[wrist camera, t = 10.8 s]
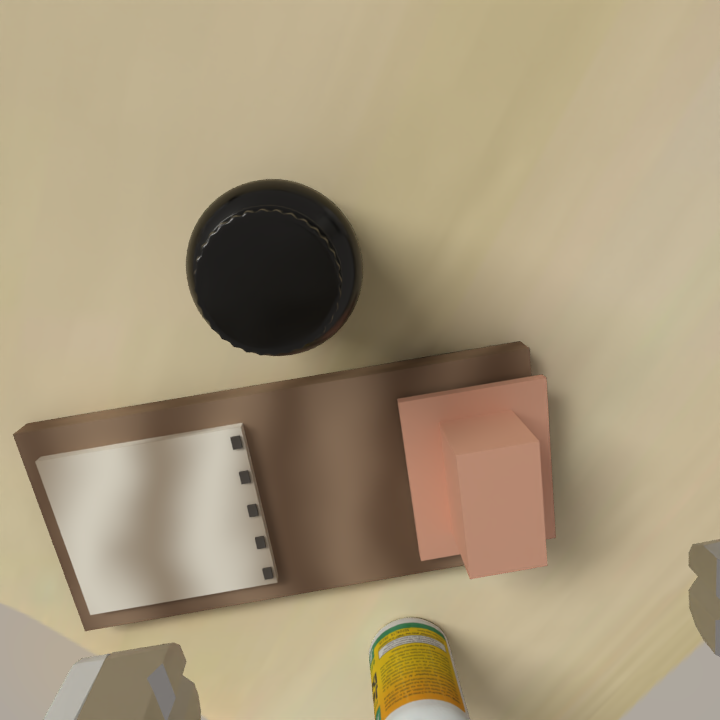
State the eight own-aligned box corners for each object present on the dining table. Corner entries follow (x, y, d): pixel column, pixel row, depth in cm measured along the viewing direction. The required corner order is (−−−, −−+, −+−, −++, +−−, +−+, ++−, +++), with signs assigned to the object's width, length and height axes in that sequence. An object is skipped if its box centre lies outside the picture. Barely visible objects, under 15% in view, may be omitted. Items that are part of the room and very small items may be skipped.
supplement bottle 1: (306, 338, 31) (297, 424, 19) (197, 270, 29) (115, 318, 18) (377, 232, 29) (412, 257, 18) (265, 155, 28) (225, 126, 16)
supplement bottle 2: (458, 662, 38) (502, 812, 29) (385, 689, 38) (405, 847, 29) (431, 602, 36) (468, 740, 27) (355, 631, 36) (366, 778, 27)
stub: (542, 374, 30) (579, 404, 26) (551, 531, 33) (586, 583, 29) (397, 398, 30) (410, 433, 26) (419, 554, 33) (434, 610, 29)
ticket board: (520, 341, 31) (534, 352, 29) (534, 536, 35) (547, 559, 33) (27, 423, 31) (5, 440, 29) (94, 613, 35) (79, 640, 33)
